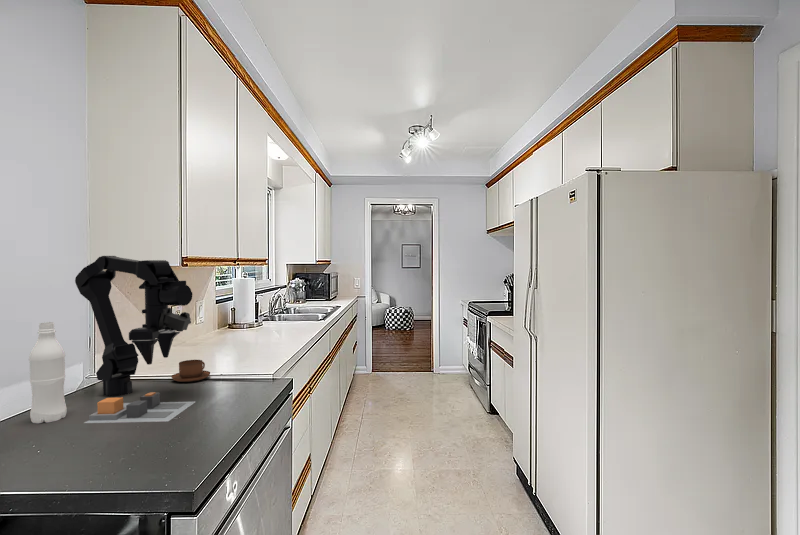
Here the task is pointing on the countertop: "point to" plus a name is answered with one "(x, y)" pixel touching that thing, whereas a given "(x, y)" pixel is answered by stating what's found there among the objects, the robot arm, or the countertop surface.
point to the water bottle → (47, 376)
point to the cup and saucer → (191, 371)
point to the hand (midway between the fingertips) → (157, 360)
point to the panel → (176, 411)
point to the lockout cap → (110, 405)
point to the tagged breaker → (151, 399)
